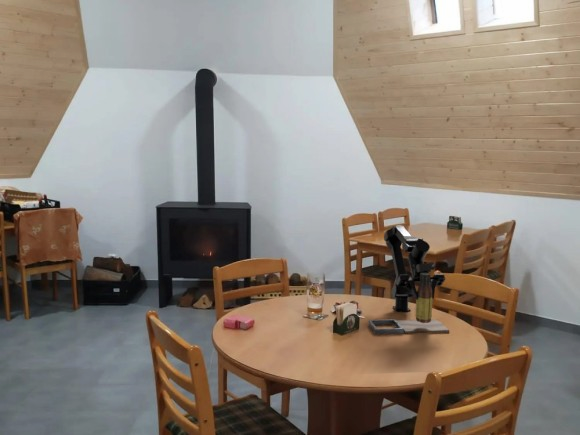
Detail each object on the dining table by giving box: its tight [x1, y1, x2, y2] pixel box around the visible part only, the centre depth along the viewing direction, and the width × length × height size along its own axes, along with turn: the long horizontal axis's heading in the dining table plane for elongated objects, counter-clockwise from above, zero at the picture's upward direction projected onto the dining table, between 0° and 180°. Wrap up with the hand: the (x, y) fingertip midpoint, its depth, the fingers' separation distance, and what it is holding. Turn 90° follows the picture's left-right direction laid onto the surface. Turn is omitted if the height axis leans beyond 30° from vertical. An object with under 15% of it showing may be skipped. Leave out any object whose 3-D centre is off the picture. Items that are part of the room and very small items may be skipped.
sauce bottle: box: [415, 272, 433, 323], centre depth 203 cm, size 7×6×20 cm
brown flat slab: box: [395, 318, 450, 335], centre depth 207 cm, size 13×18×1 cm
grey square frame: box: [368, 318, 404, 335], centre depth 205 cm, size 11×11×2 cm
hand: (425, 298), depth 202 cm, fingers closed on sauce bottle, 6 cm apart
